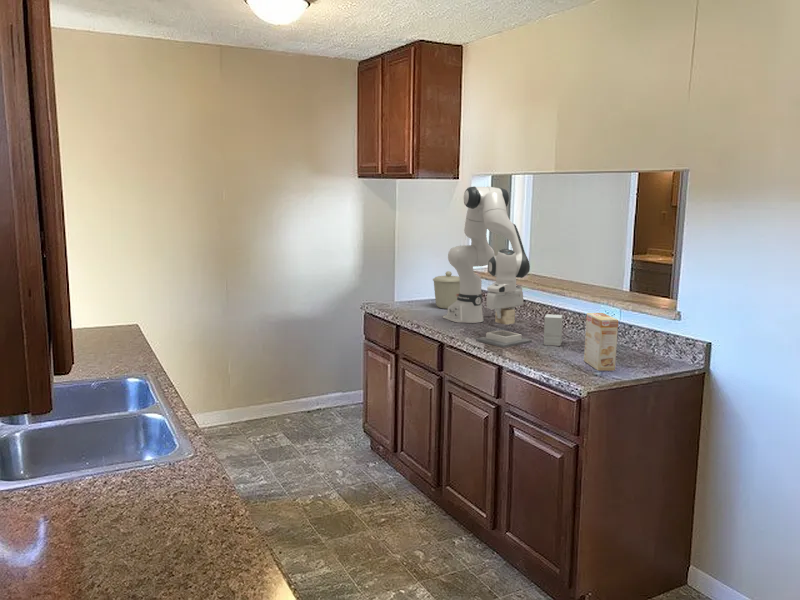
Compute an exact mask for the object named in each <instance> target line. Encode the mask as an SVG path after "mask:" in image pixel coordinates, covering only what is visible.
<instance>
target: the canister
mask: <svg viewBox="0 0 800 600" xmlns="http://www.w3.org/2000/svg"><path fill="white" fill-rule="evenodd" d="M452 274H453V273H452V271H450V270H447V271H445V274H444V275H438V276H435V277H434V278H432V281H433V288H434V297H435V304H436V307H437V308H440V309H443V310H448V307H449V306H450V305H451V304H453V303H454V302H455V301H456V300H457V298H458V296H457V295H456V294H459V293H460V280H459V275H452Z"/></svg>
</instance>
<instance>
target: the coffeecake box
mask: <svg viewBox="0 0 800 600" xmlns="http://www.w3.org/2000/svg"><path fill="white" fill-rule="evenodd" d="M618 328H619V319H618V318H615V317H613V316H610V315H608V314H606V313H604V312H586V319H585V338H584V353H583V354H584V356H583V362H585V363H586V364H587V365H589V366H590V367H592V368H593V369H595V370H596V371H599V372H600V371H601V372H602V371H603V372H605V371H606V372H607V371H608V372H612V371H613V372H615V371H616V361H617V348H618V347H617V346H618V344H617V343H618V333H619V332H618V330H619V329H618Z"/></svg>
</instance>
